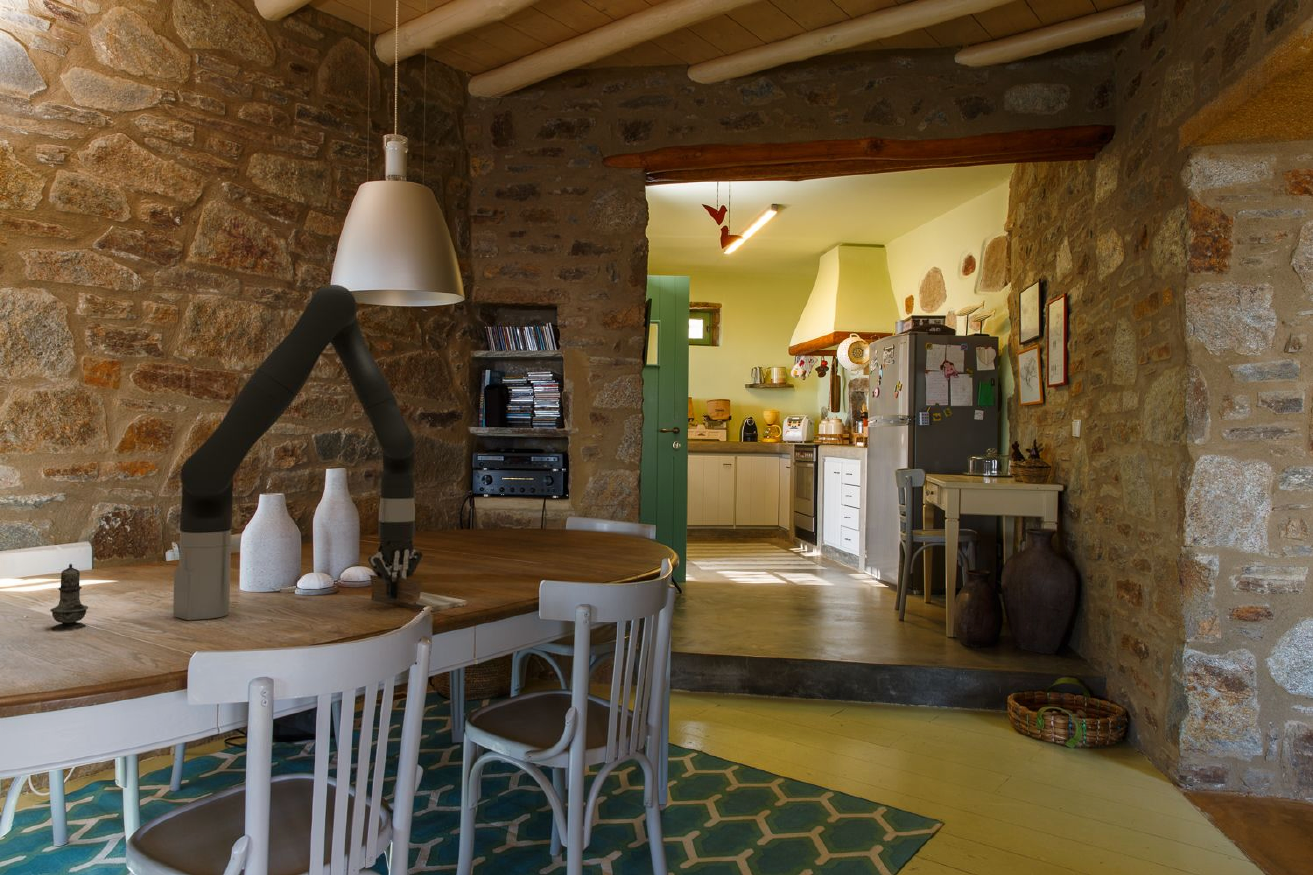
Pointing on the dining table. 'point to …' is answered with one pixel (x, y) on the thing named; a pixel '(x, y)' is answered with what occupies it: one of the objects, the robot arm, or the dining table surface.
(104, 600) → the dining table surface
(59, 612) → the salt shaker
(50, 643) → the dining table surface
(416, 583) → the driftwood piece
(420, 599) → the floor panel
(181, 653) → the dining table surface
